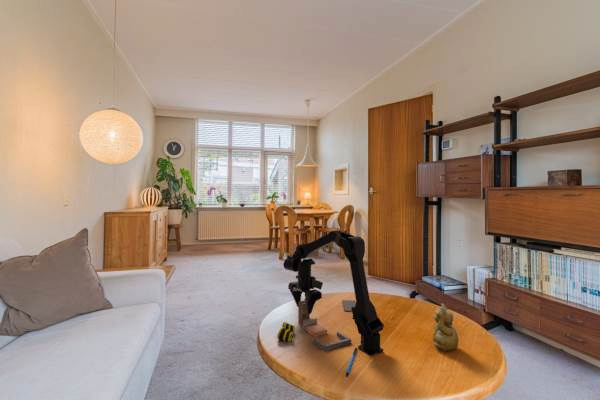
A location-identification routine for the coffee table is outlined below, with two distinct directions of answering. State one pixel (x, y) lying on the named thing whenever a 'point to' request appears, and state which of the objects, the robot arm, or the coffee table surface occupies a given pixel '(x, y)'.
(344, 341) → the tile bay
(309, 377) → the coffee table surface
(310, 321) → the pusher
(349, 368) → the pen
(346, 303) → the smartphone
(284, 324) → the opera glasses
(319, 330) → the tile
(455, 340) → the decorative figurine
